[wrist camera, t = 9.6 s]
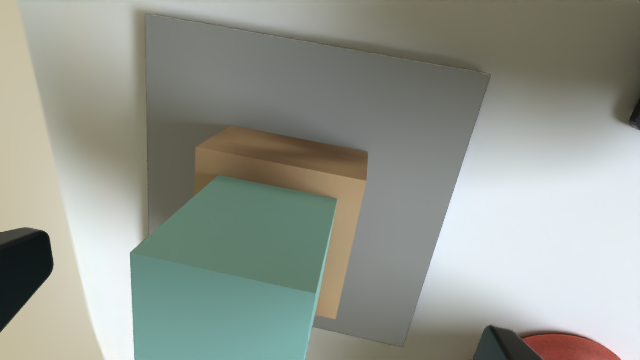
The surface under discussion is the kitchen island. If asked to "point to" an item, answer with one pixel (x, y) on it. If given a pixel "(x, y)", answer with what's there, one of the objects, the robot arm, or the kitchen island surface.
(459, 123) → the baseplate
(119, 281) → the kitchen island surface
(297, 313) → the teal brick
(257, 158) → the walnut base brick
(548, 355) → the stacking bear
